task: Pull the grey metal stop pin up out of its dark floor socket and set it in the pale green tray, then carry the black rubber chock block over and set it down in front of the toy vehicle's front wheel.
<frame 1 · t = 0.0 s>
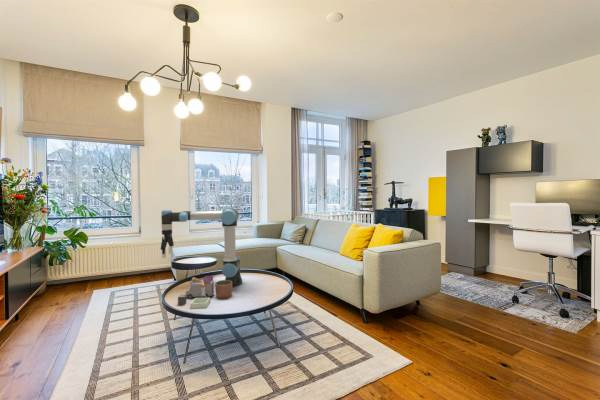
hand: (167, 256, 229), 28 cm above the table, fingers open, 13 cm apart
toy vehicle: (200, 297, 215), on the table
chock: (182, 304, 201), on the table
planter: (224, 297, 215), on the table
pin: (203, 300, 207), resting on socket
tray: (200, 305, 199), on the table
socket: (203, 301, 207), on the table
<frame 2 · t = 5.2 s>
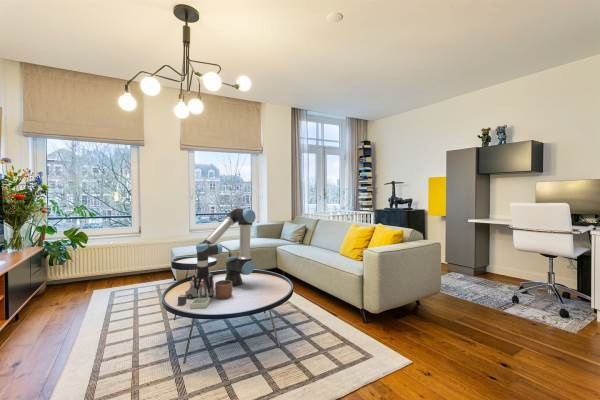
hand: (203, 297, 207), 3 cm above the table, fingers open, 5 cm apart
nothing on the table moved.
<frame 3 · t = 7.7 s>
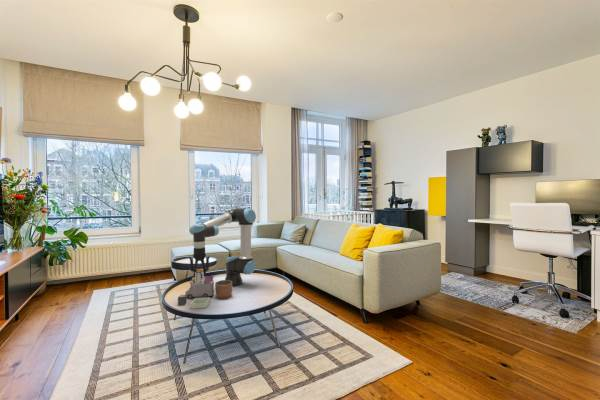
hand: (199, 280, 198), 17 cm above the table
pin: (198, 287, 198), point 13 cm above the table, touching gripper
everything else where it was.
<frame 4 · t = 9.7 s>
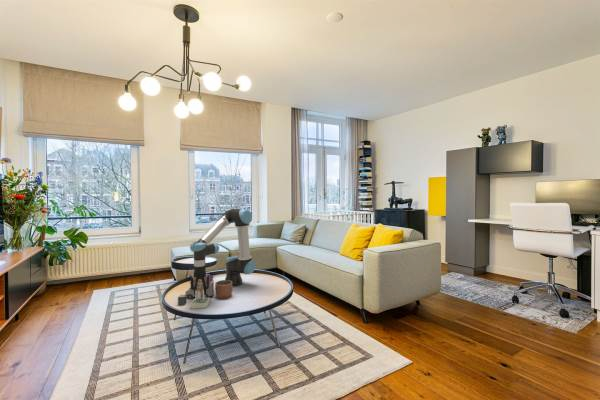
hand: (200, 299, 198), 5 cm above the table, fingers open, 4 cm apart
pin: (199, 305, 198), point 1 cm above the table, touching gripper, tray
everything else where it was.
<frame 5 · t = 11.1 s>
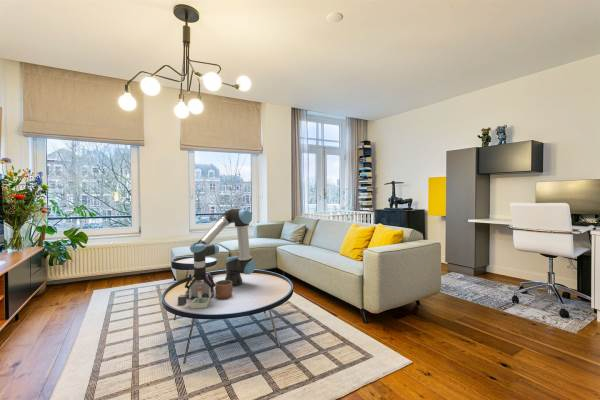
hand: (200, 297, 198), 6 cm above the table, fingers open, 13 cm apart
pin: (200, 305, 198), point 1 cm above the table, touching tray
everything else where it was.
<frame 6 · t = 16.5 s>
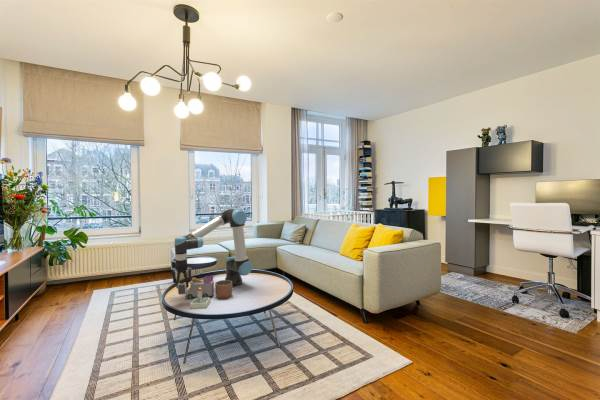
hand: (182, 292, 201), 8 cm above the table, fingers closed on chock, 4 cm apart
chock: (182, 292, 201), point 8 cm above the table, touching gripper
everything else where it was.
when the fingers open (0 cm above the table, at t = 19.7 s): chock stays where it is, on the table.
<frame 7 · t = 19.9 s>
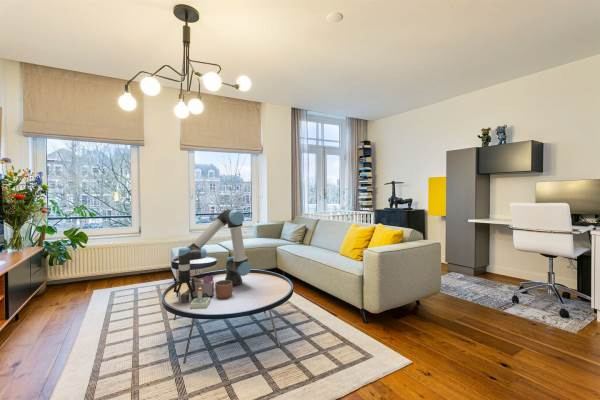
hand: (184, 301, 205), 0 cm above the table, fingers open, 7 cm apart
chock: (184, 302, 205), on the table
everything else where it was.
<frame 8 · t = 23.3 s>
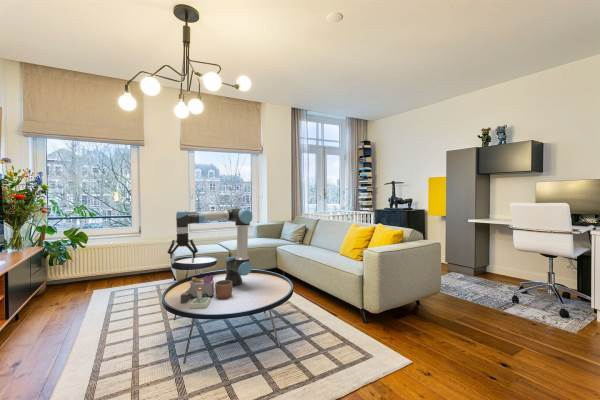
hand: (183, 263, 202), 29 cm above the table, fingers open, 13 cm apart
nothing on the table moved.
at the end: pin inside the target area on the tray (0.5 cm from its centre), point 0.6 cm above the tray's base; chock inside the target area on the table beside the toy vehicle (0.2 cm from its centre), on the table; chock tilted 0° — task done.
